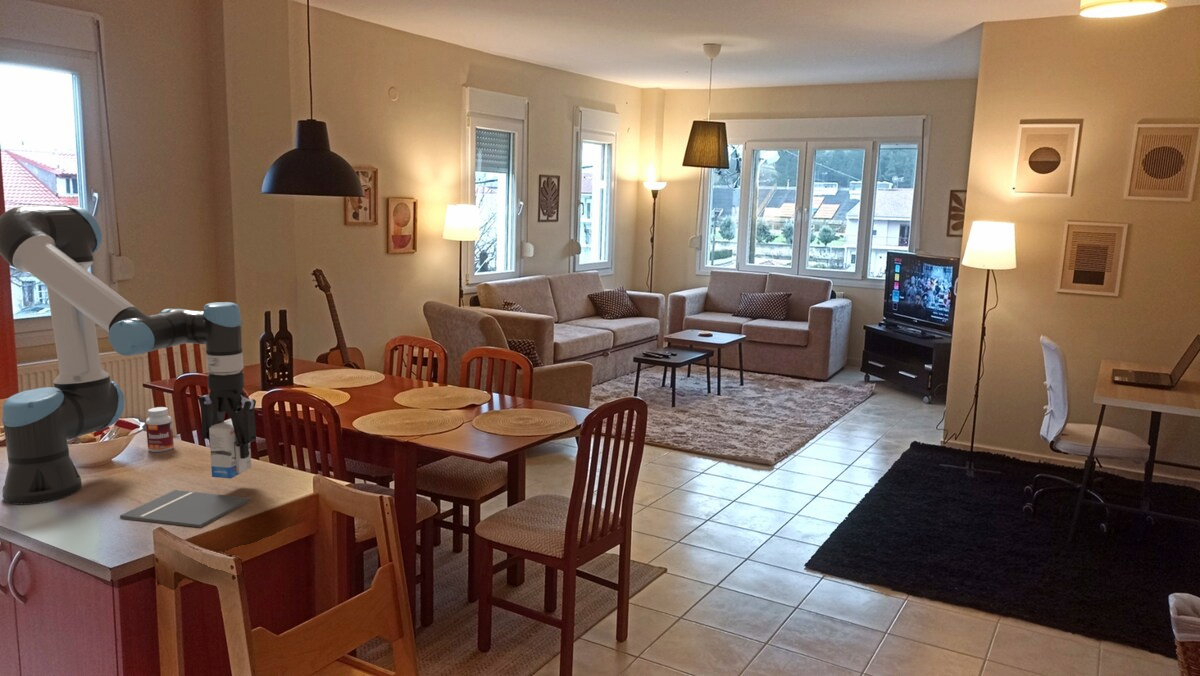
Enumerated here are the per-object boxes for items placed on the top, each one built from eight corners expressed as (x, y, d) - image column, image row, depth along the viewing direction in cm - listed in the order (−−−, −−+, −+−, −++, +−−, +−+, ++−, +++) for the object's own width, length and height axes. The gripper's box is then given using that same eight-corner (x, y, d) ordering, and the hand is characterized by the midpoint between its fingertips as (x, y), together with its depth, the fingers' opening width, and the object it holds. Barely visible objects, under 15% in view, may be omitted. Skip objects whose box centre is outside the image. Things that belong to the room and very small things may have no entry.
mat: (120, 518, 181) (119, 514, 180) (175, 492, 196) (175, 489, 196) (200, 527, 175) (200, 524, 175) (250, 500, 191) (250, 497, 191)
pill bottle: (146, 453, 225) (142, 413, 223) (149, 447, 230) (145, 407, 228) (173, 451, 227) (169, 410, 225) (175, 444, 233) (171, 405, 231)
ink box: (230, 479, 193) (227, 429, 191) (210, 477, 194) (207, 427, 192) (252, 467, 201) (250, 419, 199) (233, 465, 202) (231, 417, 200)
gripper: (179, 371, 191) (185, 470, 196) (249, 378, 187) (254, 479, 191) (203, 365, 199) (208, 460, 203) (270, 371, 194) (275, 469, 198)
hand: (230, 469), depth 197 cm, fingers closed on ink box, 5 cm apart
